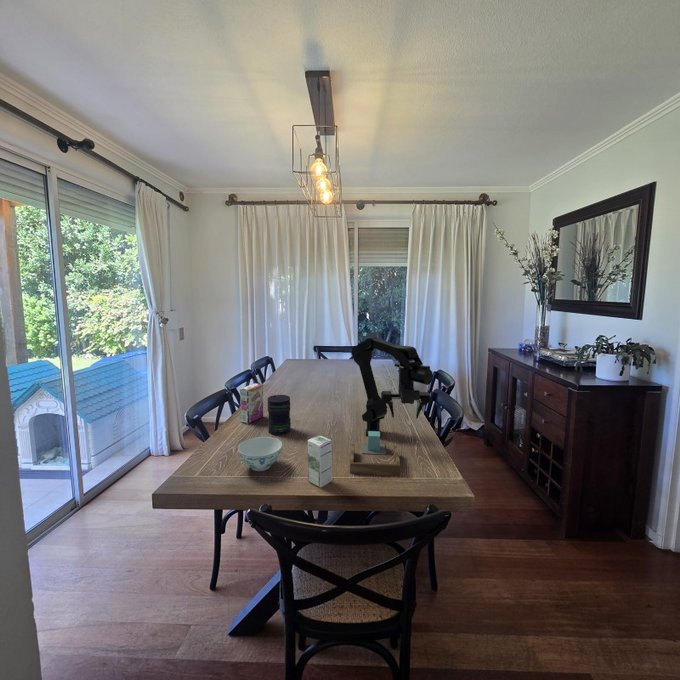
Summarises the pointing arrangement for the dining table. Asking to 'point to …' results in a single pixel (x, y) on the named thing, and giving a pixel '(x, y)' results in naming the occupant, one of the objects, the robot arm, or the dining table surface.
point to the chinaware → (260, 452)
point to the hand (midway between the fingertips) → (404, 417)
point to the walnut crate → (375, 466)
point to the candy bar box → (251, 403)
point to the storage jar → (279, 414)
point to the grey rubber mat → (365, 451)
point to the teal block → (373, 441)
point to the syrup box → (319, 461)
